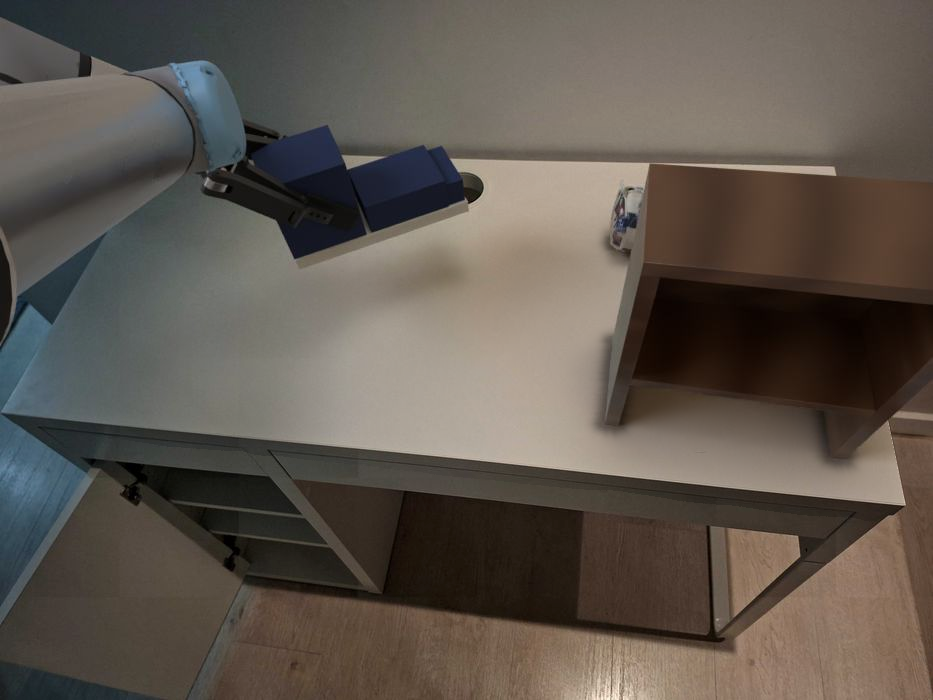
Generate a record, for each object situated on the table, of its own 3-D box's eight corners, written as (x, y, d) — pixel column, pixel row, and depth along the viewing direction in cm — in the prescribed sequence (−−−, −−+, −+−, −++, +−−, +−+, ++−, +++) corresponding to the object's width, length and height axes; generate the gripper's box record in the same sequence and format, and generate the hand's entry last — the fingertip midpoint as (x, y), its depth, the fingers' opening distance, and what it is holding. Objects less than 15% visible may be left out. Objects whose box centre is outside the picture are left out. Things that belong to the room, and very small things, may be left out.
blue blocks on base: (299, 269, 71) (262, 191, 61) (285, 227, 75) (248, 147, 66) (469, 211, 74) (460, 127, 64) (446, 174, 79) (434, 90, 69)
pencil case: (608, 265, 83) (617, 213, 75) (606, 222, 88) (614, 169, 80) (773, 268, 81) (800, 214, 73) (762, 223, 85) (786, 168, 77)
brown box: (604, 423, 70) (643, 262, 47) (612, 341, 76) (649, 163, 53) (845, 459, 65) (1021, 298, 42) (832, 367, 72) (978, 184, 48)
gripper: (114, 96, 62) (309, 173, 78) (126, 218, 51) (350, 280, 67) (138, 32, 59) (337, 126, 74) (156, 148, 47) (386, 230, 63)
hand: (343, 199), depth 71 cm, fingers closed on blue blocks on base, 8 cm apart
